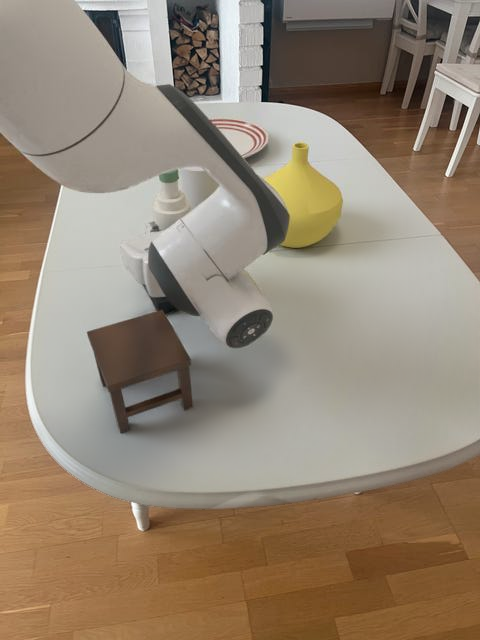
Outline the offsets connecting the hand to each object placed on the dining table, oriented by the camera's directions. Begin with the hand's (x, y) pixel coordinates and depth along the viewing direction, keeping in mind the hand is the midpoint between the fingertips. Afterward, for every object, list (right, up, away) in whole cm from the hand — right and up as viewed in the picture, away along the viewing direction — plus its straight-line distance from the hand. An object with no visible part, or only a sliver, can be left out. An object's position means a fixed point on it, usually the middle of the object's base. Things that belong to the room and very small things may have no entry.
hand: (171, 220), depth 86 cm
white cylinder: (+3, +7, +29) cm, 30 cm away
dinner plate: (+5, +30, +54) cm, 62 cm away
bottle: (0, -7, +5) cm, 9 cm away
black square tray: (0, -11, +9) cm, 14 cm away
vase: (+22, +1, +22) cm, 32 cm away
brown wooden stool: (-2, -27, -10) cm, 29 cm away
